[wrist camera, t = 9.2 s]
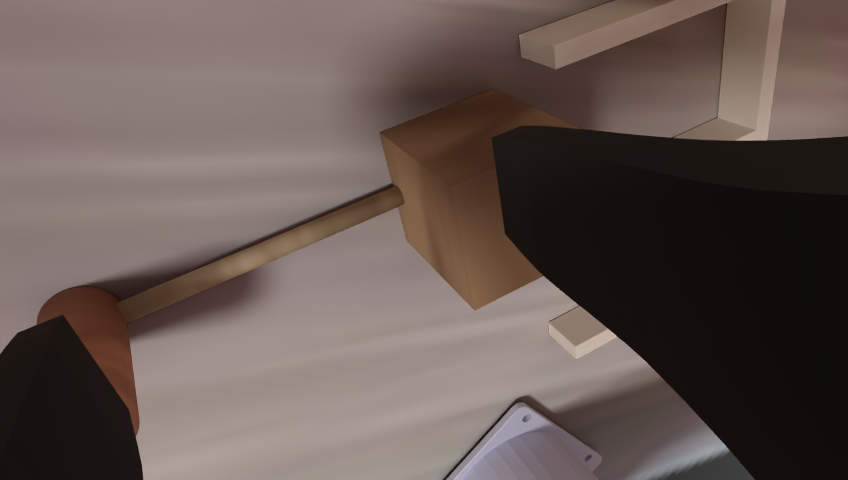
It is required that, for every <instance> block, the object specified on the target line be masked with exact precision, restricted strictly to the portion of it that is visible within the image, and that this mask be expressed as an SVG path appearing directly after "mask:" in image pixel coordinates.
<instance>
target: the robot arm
mask: <svg viewBox="0 0 848 480" xmlns="http://www.w3.org/2000/svg"><path fill="white" fill-rule="evenodd" d="M492 145H493V152H494V160H495V167H496V174H497V181H498V188H499V195H500V202H501V209H502V216H503V223H504V231H505V235H506V236H507V237H508V238H509V239H510V240H511V242H512V243H513V244H514V245H515V246H516V247H517V248H518V250H519V251H520V252H521V253H522V254H523V255H524V256H525V258H526V259H527V260H528V261H529V262H530V263H531V264H532V265H533V266H534V267H535V268H536V269H537V270H538V271H539V272H540V273H541V274H542V275H543V276H545V277H546V278H547V279H548V280H549V281H550V282H552V283H553V284H554V285H555V286H556V287H558V288H559V289H560V290H561V291H562V292H564V293H565V294H566V295H567V296H568V297H570V298H571V299H572V300H573V301H575V302H576V303H577V304H578V305H579V306H581V307H582V308H583V309H584V310H586V311H587V312H588V313H589V314H590V315H592V316H593V317H594V318H595V319H597V320H598V321H599V322H600V323H602V324H603V325H604V326H605V327H606V328H608V329H609V330H610V331H611V332H613V333H614V334H615V335H616V336H617V337H619V338H620V339H621V340H622V341H624V342H625V343H626V344H627V345H628V346H629V347H630V348H632V349H633V350H634V351H635V352H636V353H637V354H638V355H639V356H641V357H642V358H643V359H644V360H645V361H646V362H647V363H648V364H649V365H650V366H651V367H652V368H653V369H654V370H655V371H656V372H657V373H658V374H659V375H660V376H661V377H662V378H663V379H664V380H665V381H666V382H667V383H668V384H669V385H670V386H671V387H672V388H673V389H674V390H675V391H676V393H677V394H678V395H679V396H680V397H681V398H682V399H683V400H684V401H685V402H686V403H687V404H688V405H689V406H690V407H691V408H692V409H693V410H694V412H695V413H696V414H697V415H698V416H699V417H700V418H701V419H702V420H703V421H704V422H705V423H706V425H707V426H708V427H709V428H710V429H711V430H712V431H713V432H714V433H715V434H716V435H717V436H718V438H719V439H720V440H721V441H722V442H723V443H724V444H725V445H726V446H727V448H728V449H729V450H730V451H731V452H732V453H733V455H734V456H735V457H736V458H737V459H738V460H739V461H740V463H741V464H742V465H743V466H744V467H745V468H746V470H747V471H748V472H749V473H750V474H751V475H752V476H753V478H754V479H755V480H848V136H846V137H832V138H817V139H800V140H753V141H726V140H699V139H683V138H666V137H654V136H642V135H632V134H622V133H613V132H603V131H594V130H585V129H575V128H565V127H553V126H519V127H517V128H514V129H512V130H509V131H507V132H505V133H502V134H500V135H497V136H495V137H492ZM601 461H602V457H601V456H600V455H599V453H598V452H596V451H595V450H593V449H592V448H590V447H589V446H587V445H586V444H584V443H583V442H581V441H580V440H578V439H577V438H575V437H574V436H573V435H571V434H570V433H568V432H567V431H565V430H564V429H562V428H561V427H559V426H558V425H556V424H555V423H553V422H552V421H550V420H549V419H547V418H546V417H545V416H543V415H542V414H540V413H539V412H537V411H536V410H534V409H533V408H531V407H530V406H528V405H527V404H525V403H523V402H520V403H517V404H515V405H514V406H513V407H512V408H511V409H510V410H509V411H508V412H507V413H506V414H505V415H504V416H503V418H502V419H501V420H500V421H499V422H498V423H497V424H496V425H495V426H494V427H493V429H492V430H491V431H490V432H489V433H488V434H487V435H486V436H485V437H484V438H483V440H482V441H481V442H480V443H479V444H478V445H477V446H476V447H475V448H474V449H473V451H472V452H471V453H470V454H469V455H468V456H467V457H466V458H465V459H464V460H463V462H462V463H461V464H460V465H459V466H458V467H457V468H456V469H455V470H454V471H453V472H452V474H451V475H450V476H449V477H448V478H447V479H446V480H599V479H598V478H597V477H596V476H595V474H594V473H593V471H594V470H595V469H596V468H597V467H598V466H599V465H600V463H601ZM0 480H143V472H142V464H141V459H140V455H139V450H138V445H137V441H136V436H135V432H134V428H133V424H132V420H131V416H130V412H129V409H128V407H127V406H126V404H125V403H124V401H123V400H122V399H121V397H120V396H119V394H118V393H117V391H116V390H115V389H114V387H113V386H112V384H111V383H110V381H109V380H108V378H107V377H106V376H105V374H104V373H103V371H102V370H101V368H100V367H99V366H98V364H97V363H96V361H95V360H94V358H93V357H92V355H91V354H90V353H89V351H88V350H87V348H86V347H85V345H84V344H83V343H82V341H81V340H80V338H79V337H78V335H77V334H76V332H75V331H74V330H73V328H72V327H71V325H70V324H69V322H68V321H67V320H66V318H65V317H64V315H63V314H62V315H60V316H58V317H55V318H53V319H50V320H48V321H45V322H43V323H41V324H38V325H36V326H33V327H31V328H28V329H26V330H24V331H21V332H19V333H17V334H16V335H15V337H14V338H13V339H12V340H11V341H10V342H9V344H8V345H7V346H6V347H5V349H4V350H3V351H2V353H1V354H0Z"/></svg>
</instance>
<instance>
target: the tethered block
mask: <svg viewBox="0 0 848 480" xmlns="http://www.w3.org/2000/svg"><path fill="white" fill-rule="evenodd" d="M519 126H553V127H565V128H575V129H581V128H579V127H577V126H575V125H572V124H570V123H568V122H566V121H563V120H561V119H559V118H557V117H555V116H552V115H550V114H548V113H546V112H543V111H541V110H539V109H537V108H535V107H532V106H530V105H528V104H526V103H523V102H521V101H519V100H517V99H515V98H512V97H510V96H508V95H506V94H503V93H501V92H499V91H497V90H495V89H490V90H487V91H485V92H482V93H480V94H477V95H475V96H472V97H469V98H467V99H464V100H462V101H459V102H457V103H454V104H451V105H449V106H446V107H444V108H441V109H439V110H436V111H433V112H431V113H428V114H426V115H423V116H421V117H418V118H415V119H413V120H410V121H408V122H405V123H403V124H400V125H397V126H395V127H392V128H390V129H387V130H385V131H382V132H379V133H380V137H381V141H382V145H383V149H384V153H385V157H386V161H387V165H388V168H389V172H390V176H391V180H392V184H393V187H392V188H389V189H387V190H385V191H382V192H380V193H378V194H375V195H373V196H370V197H368V198H366V199H363V200H361V201H359V202H356V203H354V204H351V205H349V206H347V207H344V208H342V209H339V210H337V211H335V212H332V213H330V214H328V215H325V216H323V217H320V218H318V219H316V220H313V221H311V222H308V223H306V224H304V225H301V226H299V227H297V228H294V229H292V230H289V231H287V232H285V233H282V234H280V235H277V236H275V237H273V238H270V239H268V240H266V241H263V242H261V243H258V244H256V245H254V246H251V247H249V248H246V249H244V250H242V251H239V252H237V253H235V254H232V255H230V256H227V257H225V258H223V259H220V260H218V261H215V262H213V263H211V264H208V265H206V266H204V267H201V268H199V269H196V270H194V271H192V272H189V273H187V274H185V275H182V276H180V277H177V278H175V279H173V280H170V281H168V282H165V283H163V284H161V285H158V286H156V287H154V288H151V289H149V290H146V291H144V292H142V293H139V294H137V295H134V296H132V297H130V298H127V299H125V300H123V301H120V300H119V299H118V298H117V297H116V296H115V295H113V294H112V293H110V292H108V291H106V290H103V289H100V288H95V287H75V288H71V289H67V290H64V291H62V292H60V293H57V294H56V295H54V296H53V297H51V298H50V299H49V300H48V301H47V302H46V303H45V304H44V305H43V306H42V308H41V310H40V312H39V314H38V318H37V325H38V324H41V323H43V322H45V321H48V320H50V319H53V318H55V317H58V316H60V315H62V314H63V315H64V317H65V318H66V320H67V321H68V322H69V324H70V325H71V327H72V328H73V330H74V331H75V332H76V334H77V335H78V337H79V338H80V340H81V341H82V343H83V344H84V345H85V347H86V348H87V350H88V351H89V353H90V354H91V355H92V357H93V358H94V360H95V361H96V363H97V364H98V366H99V367H100V368H101V370H102V371H103V373H104V374H105V376H106V377H107V378H108V380H109V381H110V383H111V384H112V386H113V387H114V389H115V390H116V391H117V393H118V394H119V396H120V397H121V399H122V400H123V401H124V403H125V404H126V406H127V407H128V409H129V412H130V416H131V420H132V424H133V428H134V432H135V436H136V435H137V433H138V429H139V414H138V406H137V397H136V389H135V381H134V373H133V365H132V357H131V349H130V341H129V333H128V325H127V323H129V322H132V321H134V320H136V319H139V318H141V317H143V316H146V315H148V314H150V313H153V312H155V311H157V310H160V309H162V308H164V307H166V306H169V305H171V304H173V303H176V302H178V301H180V300H183V299H185V298H187V297H190V296H192V295H194V294H197V293H199V292H201V291H204V290H206V289H208V288H211V287H213V286H215V285H218V284H220V283H222V282H225V281H227V280H229V279H231V278H234V277H236V276H238V275H241V274H243V273H245V272H248V271H250V270H252V269H255V268H257V267H259V266H262V265H264V264H266V263H269V262H271V261H273V260H276V259H278V258H280V257H283V256H285V255H287V254H290V253H292V252H294V251H296V250H299V249H301V248H303V247H306V246H308V245H310V244H313V243H315V242H317V241H320V240H322V239H324V238H327V237H329V236H331V235H334V234H336V233H338V232H341V231H343V230H345V229H348V228H350V227H352V226H355V225H357V224H359V223H362V222H364V221H366V220H368V219H371V218H373V217H375V216H378V215H380V214H382V213H385V212H387V211H389V210H392V209H394V208H396V207H398V208H399V212H400V216H401V220H402V223H403V227H404V231H405V235H406V239H407V241H408V243H409V244H410V245H411V246H412V247H413V248H414V249H415V250H416V251H417V252H418V253H419V254H420V255H421V256H422V257H423V258H424V259H425V260H426V261H427V262H428V263H429V264H430V265H431V266H432V267H433V268H434V269H435V270H436V271H437V272H438V273H439V274H440V275H441V276H442V277H443V278H444V279H445V280H446V281H447V282H448V284H449V285H450V286H451V287H452V288H453V289H454V290H455V291H456V292H457V293H458V294H459V295H460V296H461V297H462V298H463V299H464V300H465V301H466V302H467V303H468V304H469V305H470V306H471V307H472V308H473V309H474V310H477V309H479V308H481V307H483V306H485V305H487V304H489V303H491V302H493V301H494V300H496V299H498V298H500V297H502V296H504V295H506V294H508V293H510V292H512V291H514V290H516V289H518V288H520V287H522V286H524V285H526V284H528V283H530V282H532V281H534V280H536V279H538V278H540V277H542V276H543V275H542V274H541V273H540V272H539V271H538V270H537V269H536V268H535V267H534V266H533V265H532V264H531V263H530V262H529V261H528V260H527V259H526V258H525V256H524V255H523V254H522V253H521V252H520V251H519V250H518V248H517V247H516V246H515V245H514V244H513V243H512V242H511V240H510V239H509V238H508V237H507V236H506V235H505V231H504V223H503V216H502V209H501V202H500V195H499V188H498V181H497V174H496V167H495V160H494V152H493V145H492V137H495V136H497V135H500V134H502V133H505V132H507V131H509V130H512V129H514V128H517V127H519Z"/></svg>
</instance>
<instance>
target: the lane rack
mask: <svg viewBox="0 0 848 480" xmlns="http://www.w3.org/2000/svg"><path fill="white" fill-rule="evenodd" d="M726 3H727V14H726V25H725V37H724V49H723V61H722V73H721V84H720V96H719V108H718V118H715V119H713V120H711V121H709V122H707V123H704V124H702V125H700V126H698V127H696V128H693V129H691V130H689V131H687V132H685V133H682V134H680V135H678V136H676V137H674V138H683V139H699V140H726V141H753V140H767V138H768V130H769V123H770V116H771V108H772V101H773V94H774V86H775V79H776V72H777V64H778V57H779V50H780V42H781V35H782V28H783V20H784V13H785V6H786V0H614V1H611V2H608V3H605V4H603V5H600V6H597V7H594V8H592V9H589V10H586V11H583V12H580V13H578V14H575V15H572V16H569V17H567V18H564V19H561V20H558V21H556V22H553V23H550V24H547V25H545V26H542V27H539V28H536V29H533V30H531V31H528V32H525V33H522V34H520V35H519V40H520V50H521V57H522V58H525V59H528V60H531V61H533V62H536V63H539V64H542V65H545V66H547V67H550V68H553V69H558V68H561V67H563V66H566V65H569V64H571V63H574V62H576V61H579V60H581V59H584V58H587V57H589V56H592V55H594V54H597V53H599V52H602V51H605V50H607V49H610V48H612V47H615V46H617V45H620V44H623V43H625V42H628V41H630V40H633V39H635V38H638V37H641V36H643V35H646V34H648V33H651V32H654V31H656V30H659V29H661V28H664V27H666V26H669V25H672V24H674V23H677V22H679V21H682V20H684V19H687V18H690V17H692V16H695V15H697V14H700V13H702V12H705V11H708V10H710V9H713V8H715V7H718V6H720V5H723V4H726ZM548 323H549V332H550V335H551V336H552V337H553V338H554V339H555V340H556V341H557V342H558V343H559V344H560V345H561V346H563V347H564V348H565V349H566V350H567V351H568V352H569V353H570V354H571V355H572V356H573V357H575V358H576V359H578V358H580V357H581V356H583V355H585V354H587V353H589V352H591V351H592V350H594V349H596V348H598V347H600V346H601V345H603V344H605V343H607V342H609V341H610V340H612V339H614V338H616V337H617V336H616V335H615V334H614V333H613V332H611V331H610V330H609V329H608V328H606V327H605V326H604V325H603V324H602V323H600V322H599V321H598V320H597V319H595V318H594V317H593V316H592V315H590V314H589V313H588V312H587V311H586V310H584V309H583V308H582V307H581V306H579V307H577V308H575V309H573V310H571V311H569V312H567V313H565V314H564V315H562V316H560V317H558V318H556V319H554V320H552V321H550V322H548Z"/></svg>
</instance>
